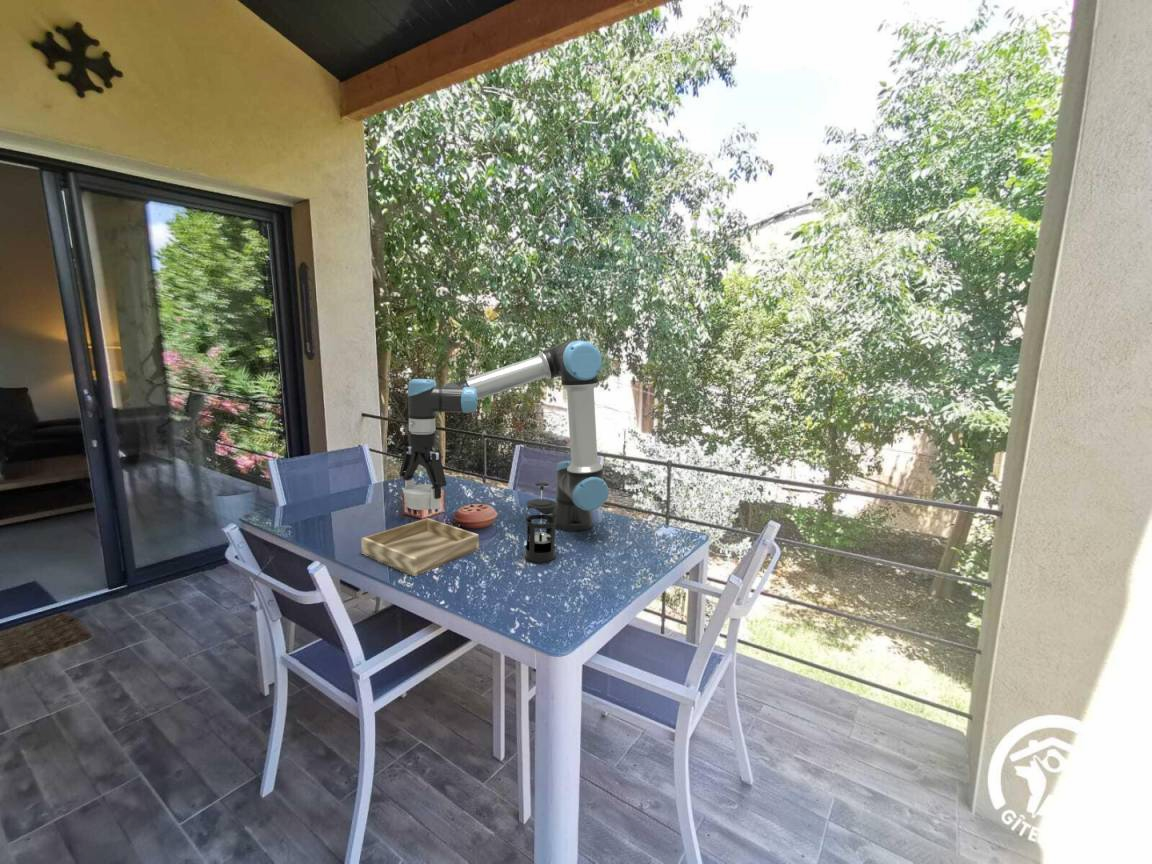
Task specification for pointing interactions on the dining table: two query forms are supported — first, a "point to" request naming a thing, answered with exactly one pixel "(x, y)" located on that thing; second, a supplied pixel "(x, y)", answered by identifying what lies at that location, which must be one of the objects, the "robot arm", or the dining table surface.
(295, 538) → the dining table surface
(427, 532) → the pine tray
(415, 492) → the ramekin
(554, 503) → the french press
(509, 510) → the dining table surface
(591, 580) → the dining table surface
